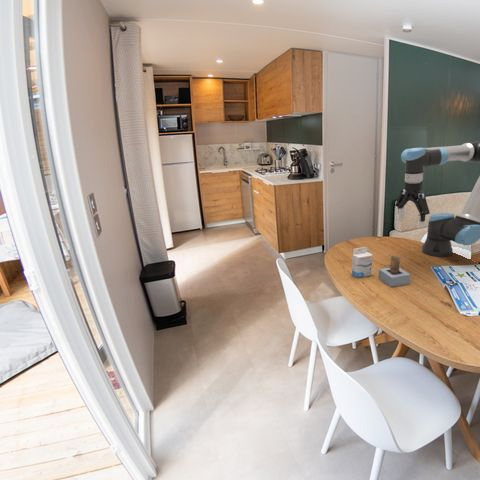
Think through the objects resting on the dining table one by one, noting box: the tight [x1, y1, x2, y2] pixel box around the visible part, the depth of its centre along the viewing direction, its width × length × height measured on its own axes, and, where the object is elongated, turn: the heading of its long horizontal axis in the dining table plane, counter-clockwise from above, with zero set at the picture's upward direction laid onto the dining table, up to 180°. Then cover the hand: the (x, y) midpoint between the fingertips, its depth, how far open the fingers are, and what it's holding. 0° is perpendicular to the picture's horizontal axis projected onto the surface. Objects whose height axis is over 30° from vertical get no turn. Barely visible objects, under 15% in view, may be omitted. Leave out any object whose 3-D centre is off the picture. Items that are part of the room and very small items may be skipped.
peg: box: [389, 254, 401, 275], centre depth 147 cm, size 4×4×12 cm
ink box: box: [351, 246, 374, 279], centre depth 155 cm, size 8×5×15 cm, turn 102°
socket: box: [378, 267, 411, 288], centre depth 148 cm, size 10×10×5 cm
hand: (410, 223), depth 150 cm, fingers open, 13 cm apart
